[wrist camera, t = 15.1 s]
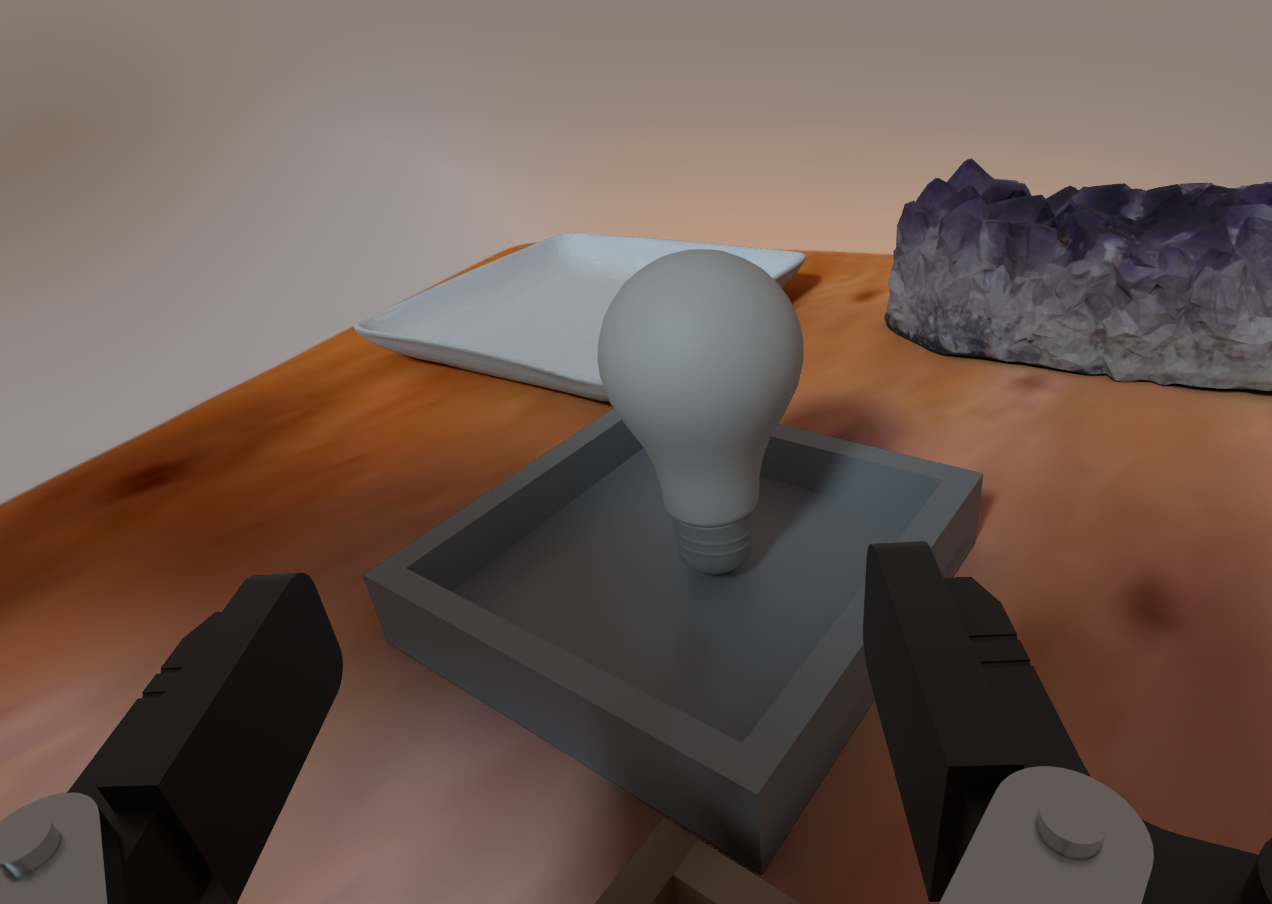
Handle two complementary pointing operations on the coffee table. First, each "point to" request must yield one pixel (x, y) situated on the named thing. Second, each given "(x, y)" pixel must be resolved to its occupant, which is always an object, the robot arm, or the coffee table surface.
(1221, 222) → the geode
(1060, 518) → the coffee table surface
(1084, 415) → the coffee table surface
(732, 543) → the lightbulb
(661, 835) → the square wooden frame
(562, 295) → the salad plate
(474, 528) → the tray
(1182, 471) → the coffee table surface
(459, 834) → the coffee table surface
